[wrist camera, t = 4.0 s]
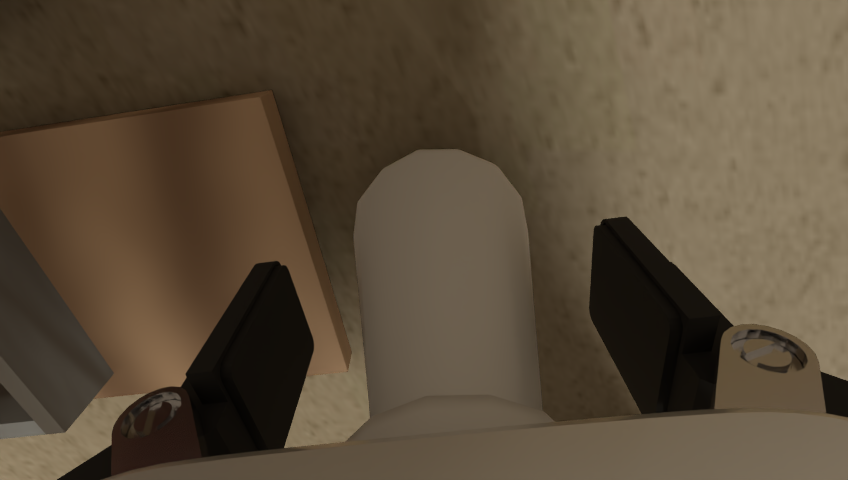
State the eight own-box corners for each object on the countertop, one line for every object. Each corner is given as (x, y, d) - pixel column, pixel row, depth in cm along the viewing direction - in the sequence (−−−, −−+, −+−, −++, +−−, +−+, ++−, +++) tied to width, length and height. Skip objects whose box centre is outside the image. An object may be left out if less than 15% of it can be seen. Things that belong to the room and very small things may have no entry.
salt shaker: (374, 114, 15) (213, 486, 3) (532, 145, 15) (845, 553, 4) (355, 256, 18) (232, 718, 6) (489, 277, 18) (601, 740, 7)
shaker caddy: (272, 89, 14) (219, 120, 11) (351, 352, 20) (335, 430, 16) (-252, 170, 16) (-458, 221, 12) (-37, 395, 21) (-131, 475, 18)
